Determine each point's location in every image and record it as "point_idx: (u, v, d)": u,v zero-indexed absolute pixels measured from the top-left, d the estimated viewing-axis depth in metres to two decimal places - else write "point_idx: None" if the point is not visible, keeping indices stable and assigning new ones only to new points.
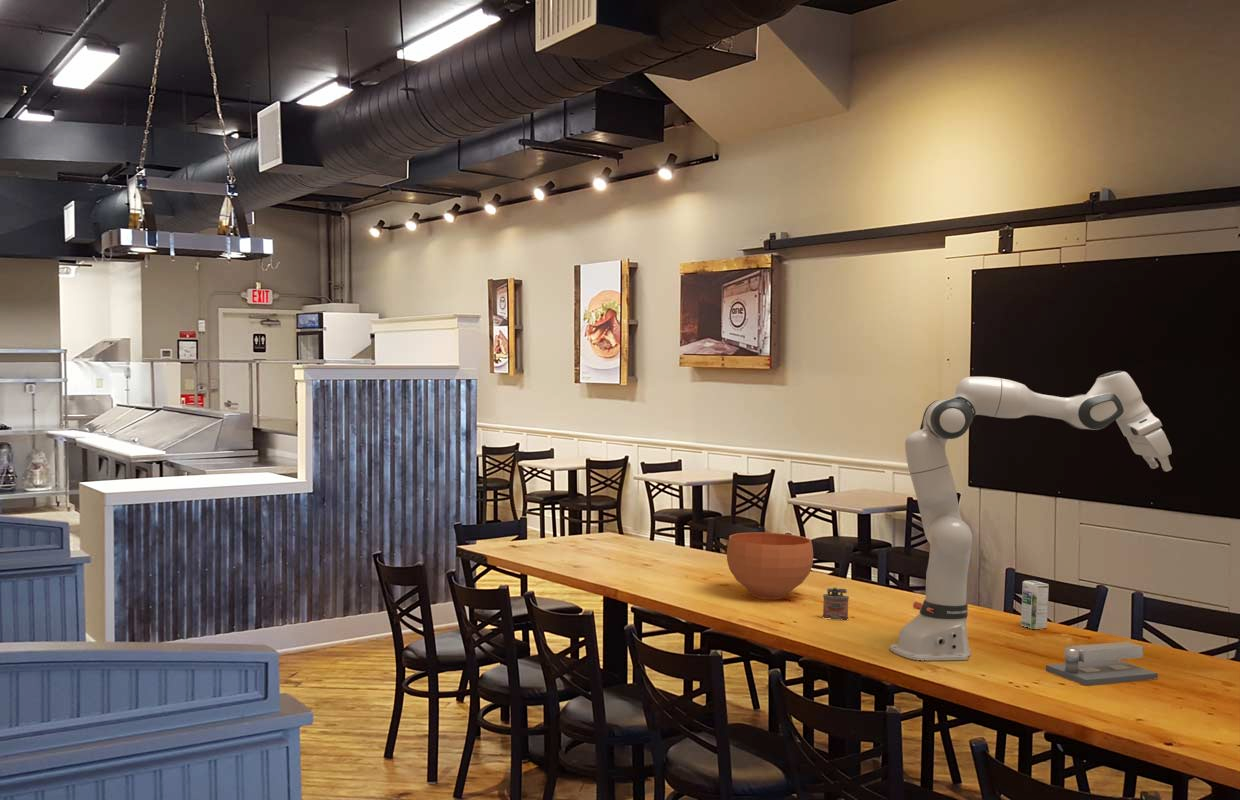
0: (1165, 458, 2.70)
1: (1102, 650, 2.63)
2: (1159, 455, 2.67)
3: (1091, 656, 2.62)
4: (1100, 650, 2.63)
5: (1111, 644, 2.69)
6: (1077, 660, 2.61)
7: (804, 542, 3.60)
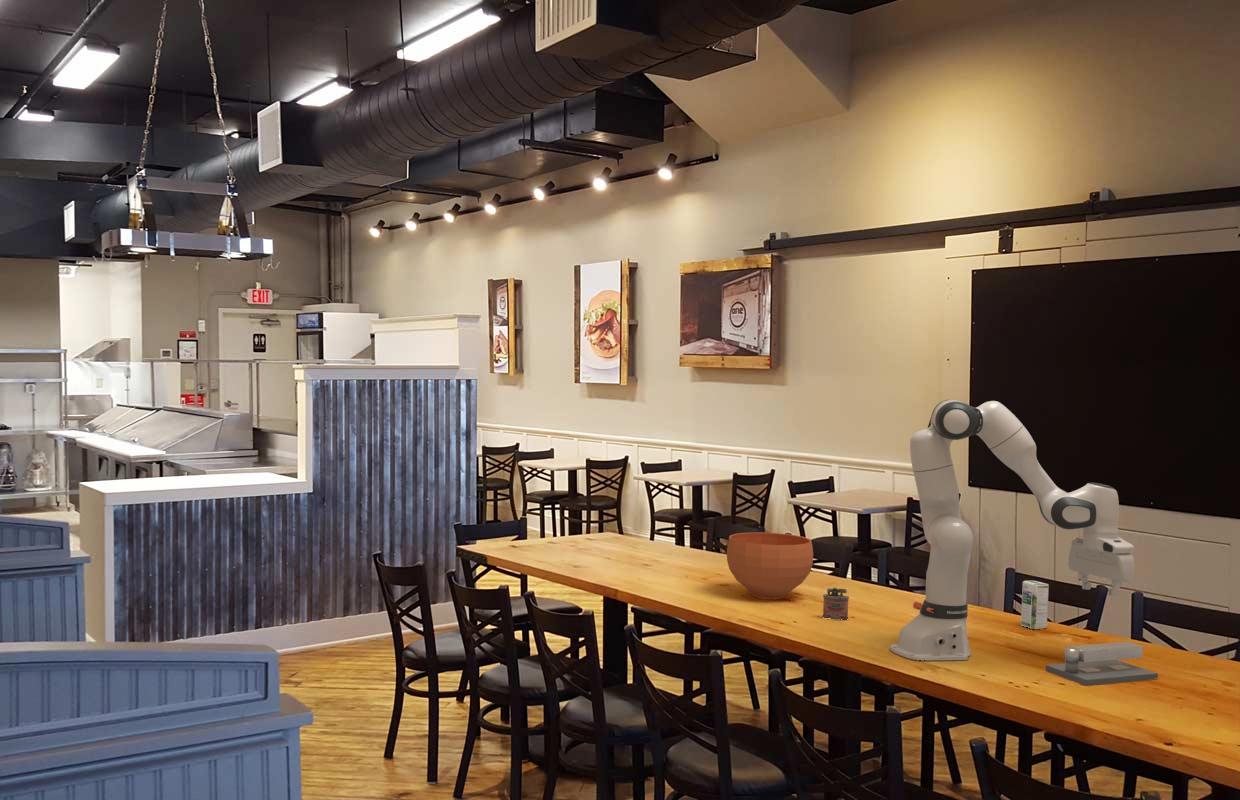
0: (1119, 583, 2.70)
1: (1102, 650, 2.63)
2: (1123, 578, 2.66)
3: (1091, 656, 2.62)
4: (1100, 650, 2.63)
5: (1111, 644, 2.69)
6: (1077, 660, 2.61)
7: (804, 542, 3.60)
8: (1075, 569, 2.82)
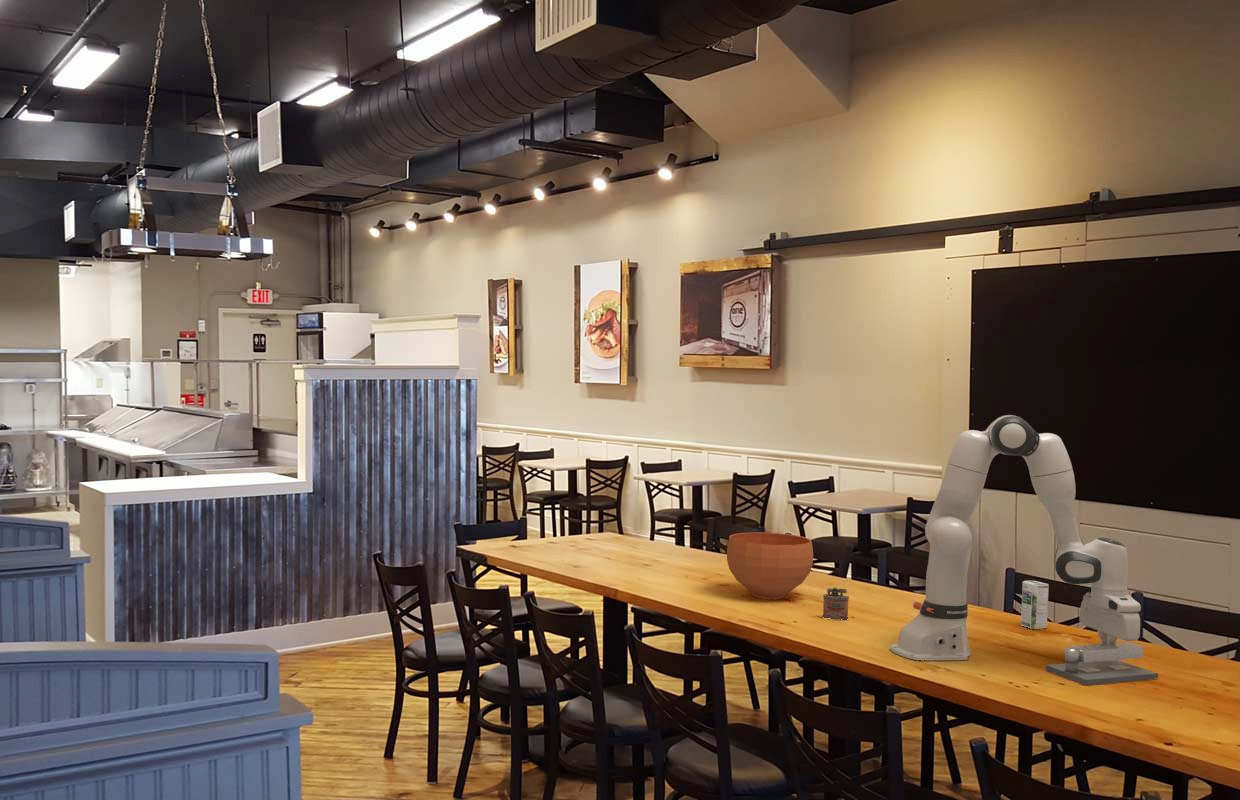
0: (1114, 638, 2.70)
1: (1102, 650, 2.63)
2: (1127, 637, 2.62)
3: (1091, 656, 2.62)
4: (1100, 650, 2.63)
5: (1111, 644, 2.69)
6: (1077, 660, 2.61)
7: (804, 542, 3.60)
8: (1085, 624, 2.79)
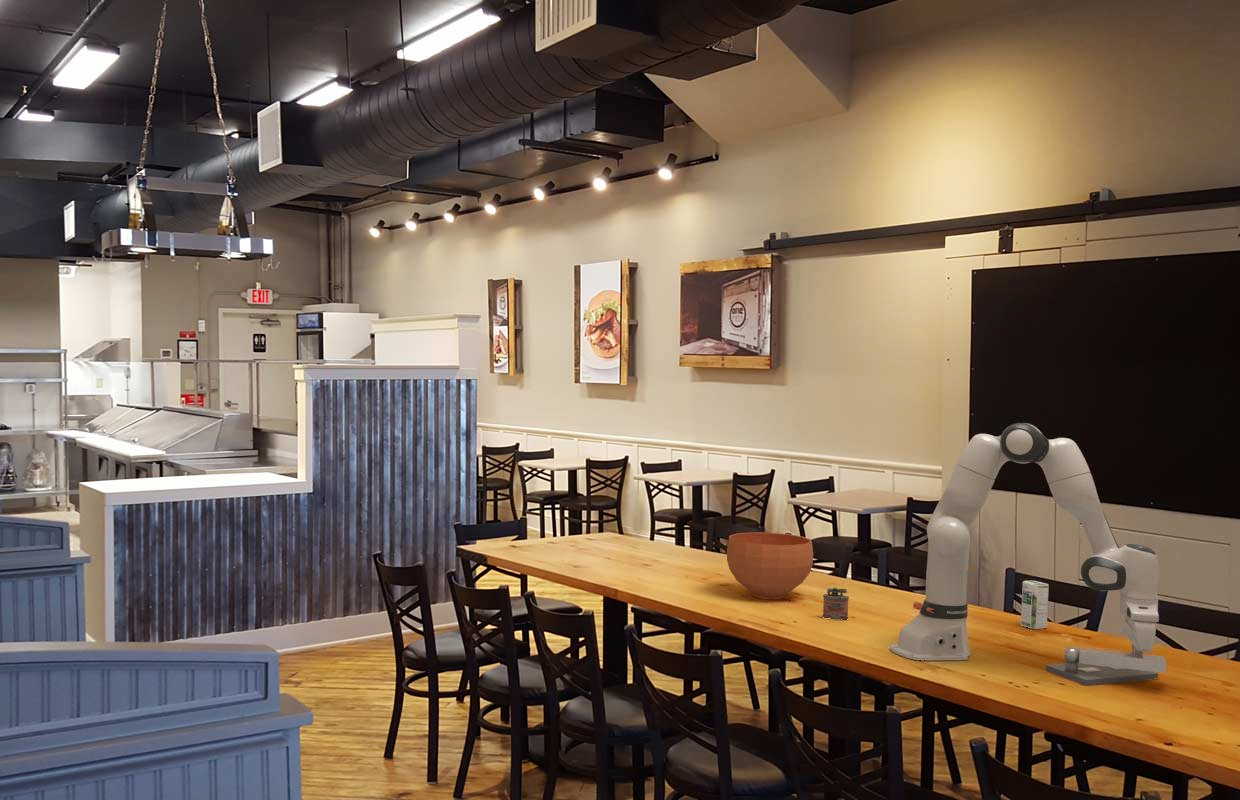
0: None
1: (1105, 655, 2.58)
2: (1138, 647, 2.52)
3: (1089, 659, 2.59)
4: (1102, 655, 2.58)
5: (1132, 654, 2.59)
6: (1073, 660, 2.61)
7: (804, 542, 3.60)
8: (1125, 633, 2.69)
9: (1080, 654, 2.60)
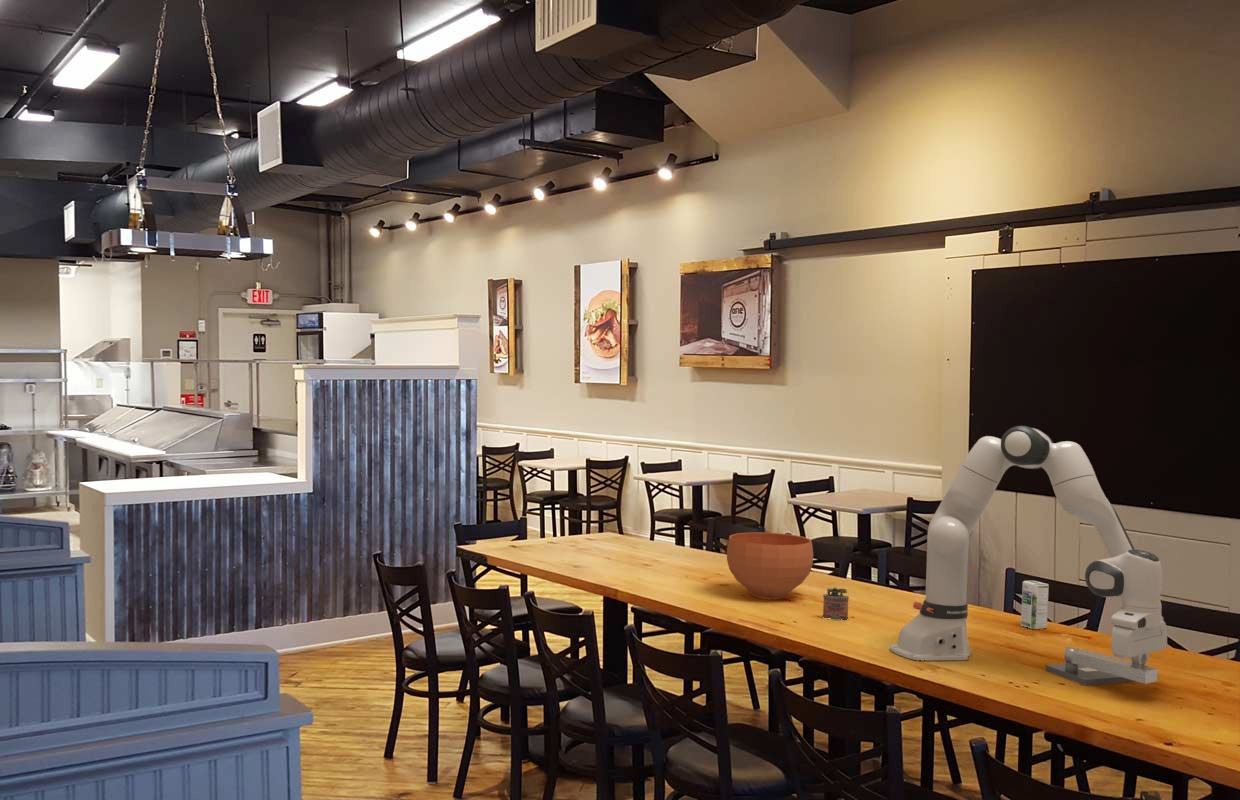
0: (1136, 658, 2.50)
1: (1093, 658, 2.55)
2: (1112, 652, 2.47)
3: (1079, 660, 2.58)
4: (1091, 657, 2.56)
5: (1126, 662, 2.51)
6: (1068, 659, 2.62)
7: (804, 542, 3.60)
8: None
9: (1072, 654, 2.60)
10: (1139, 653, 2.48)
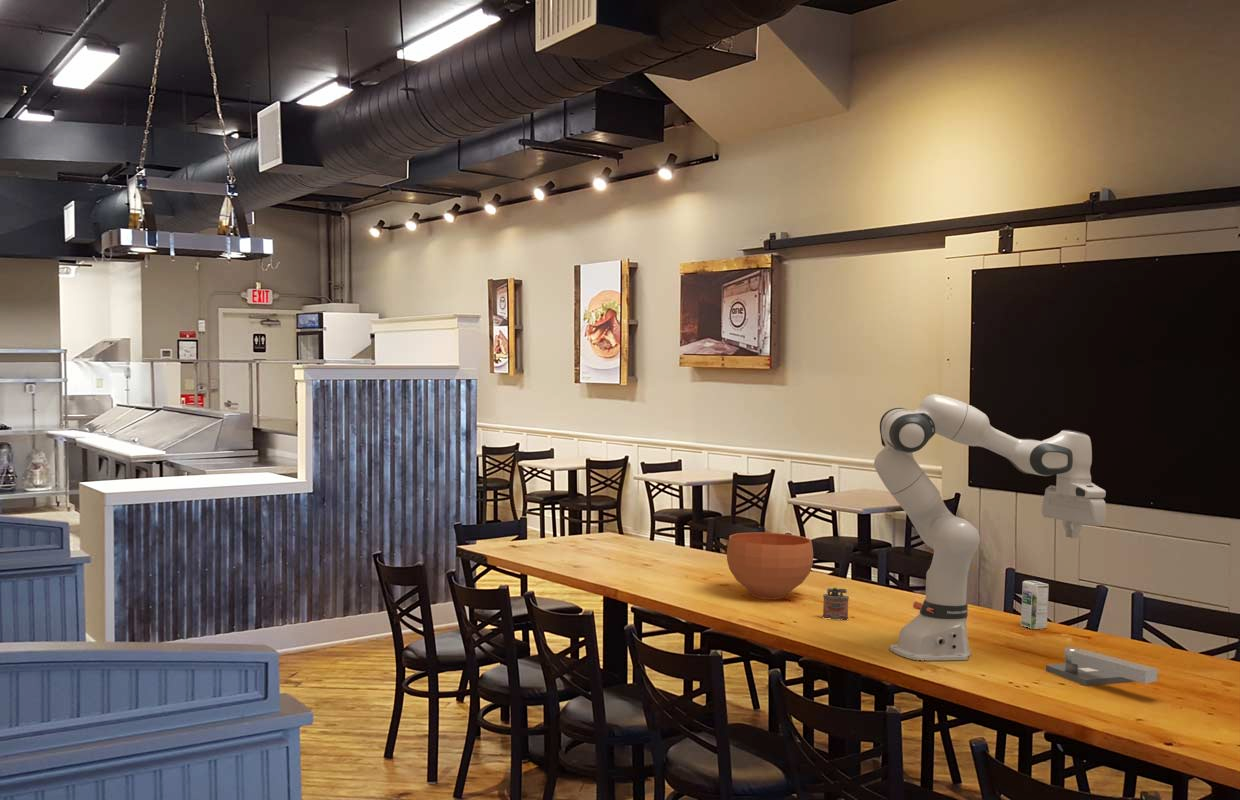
0: (1079, 526, 2.79)
1: (1093, 658, 2.55)
2: (1095, 522, 2.71)
3: (1079, 660, 2.58)
4: (1091, 657, 2.56)
5: (1126, 662, 2.51)
6: (1068, 659, 2.62)
7: (804, 542, 3.60)
8: (1048, 516, 2.87)
9: (1072, 654, 2.60)
10: None
